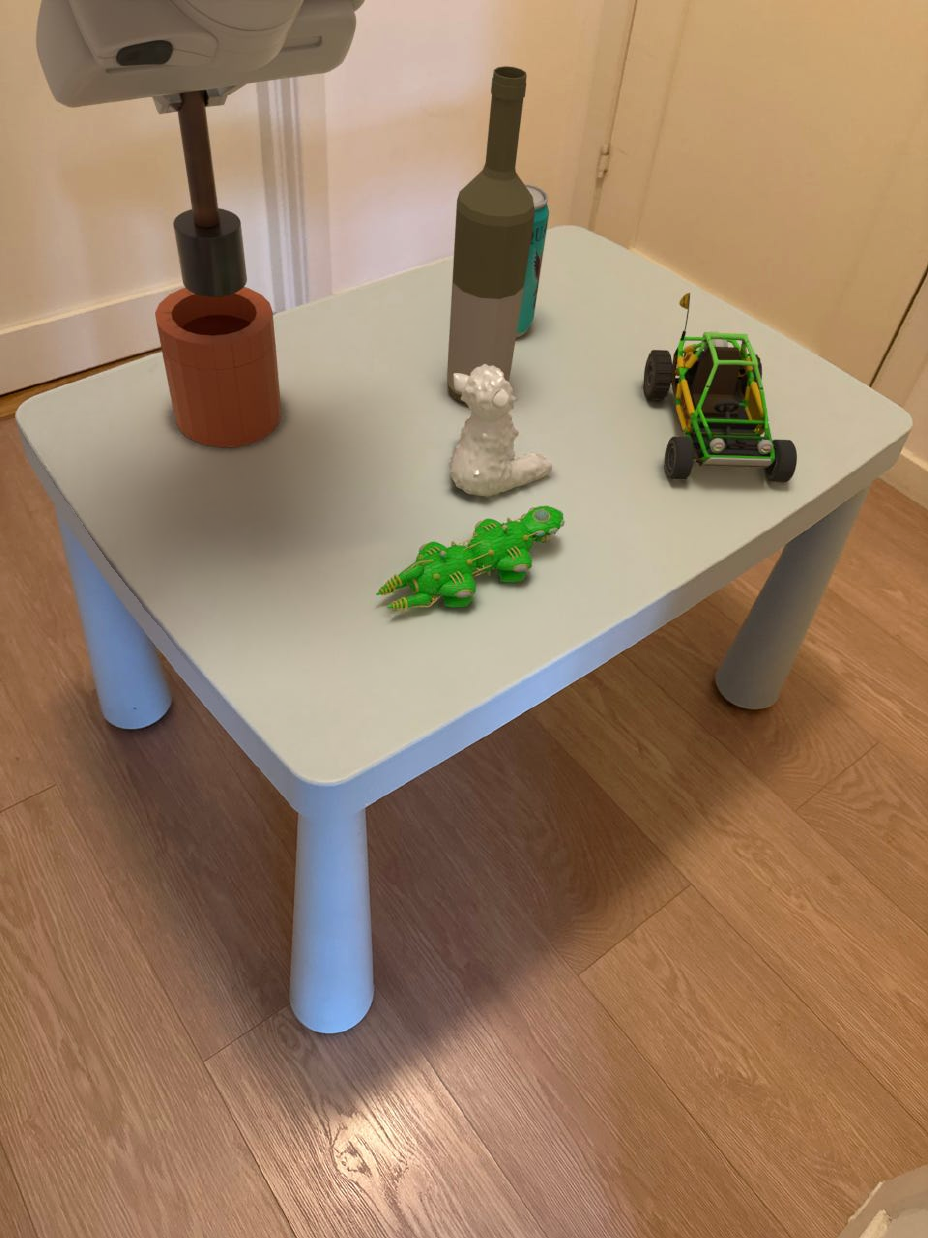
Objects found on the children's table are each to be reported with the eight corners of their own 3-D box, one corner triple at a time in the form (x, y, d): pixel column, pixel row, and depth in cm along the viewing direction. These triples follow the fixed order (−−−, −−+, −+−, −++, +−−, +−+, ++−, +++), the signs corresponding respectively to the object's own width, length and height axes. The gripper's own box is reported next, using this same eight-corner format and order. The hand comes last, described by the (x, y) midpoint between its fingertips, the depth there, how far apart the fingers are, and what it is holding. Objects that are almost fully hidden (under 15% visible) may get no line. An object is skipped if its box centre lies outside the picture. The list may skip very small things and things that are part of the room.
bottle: (434, 404, 93) (456, 79, 71) (451, 366, 98) (476, 50, 75) (502, 418, 93) (545, 95, 70) (516, 380, 97) (561, 64, 75)
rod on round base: (186, 299, 75) (126, -59, 57) (179, 267, 78) (121, -83, 60) (251, 294, 76) (213, -59, 58) (242, 262, 79) (203, -82, 61)
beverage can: (532, 343, 102) (552, 209, 91) (480, 339, 102) (494, 204, 90) (530, 315, 106) (550, 183, 94) (481, 311, 105) (494, 178, 94)
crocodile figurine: (579, 560, 80) (588, 523, 77) (403, 641, 73) (404, 604, 69) (533, 514, 84) (540, 478, 80) (360, 588, 76) (360, 550, 73)
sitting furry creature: (553, 474, 88) (574, 365, 79) (505, 523, 83) (521, 412, 74) (470, 434, 91) (482, 325, 82) (419, 479, 86) (425, 368, 77)
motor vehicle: (669, 489, 87) (700, 395, 79) (635, 370, 100) (658, 280, 92) (787, 492, 88) (828, 400, 81) (738, 374, 101) (769, 285, 93)
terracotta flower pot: (180, 453, 85) (160, 349, 77) (170, 390, 92) (150, 287, 83) (289, 440, 88) (280, 337, 80) (271, 379, 94) (262, 278, 86)
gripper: (362, -86, 58) (303, 38, 70) (24, -65, 50) (25, 71, 62) (395, 18, 59) (331, 122, 71) (70, 56, 51) (62, 166, 63)
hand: (186, 99), depth 67 cm, fingers closed on rod on round base
